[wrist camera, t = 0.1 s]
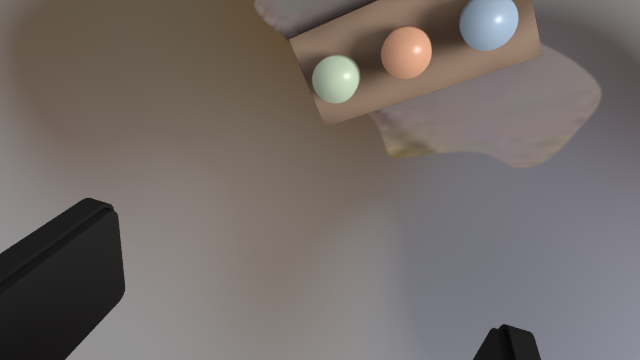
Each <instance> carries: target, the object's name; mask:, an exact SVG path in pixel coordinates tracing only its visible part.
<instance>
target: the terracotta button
mask: <svg viewBox="0 0 640 360" xmlns="http://www.w3.org/2000/svg"><path fill="white" fill-rule="evenodd" d="M431 54H432V48H431V41H430V39H429V37H428V35H427V34H426V32H425V31H424V30H422V29H421V28H419V27H417V26H413V25H405V26H401V27H398V28H396V29H395V30H393V31H392V32H391V33H390V34H389V36H388V37H387V38H386V40H385V42H384V44H383V46H382V50H381V60H382V63H383V66H384V68H385V69H386V70H387V72H388V73H390V74H391V75H392V76H394V77H396V78H400V79H410V78H414V77H416V76H418V75H419V74H421V73H422V72H423V71H424V70H425V69H426V68H427V66H428V64H429V62H430V59H431Z"/></svg>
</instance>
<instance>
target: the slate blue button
mask: <svg viewBox="0 0 640 360" xmlns="http://www.w3.org/2000/svg"><path fill="white" fill-rule="evenodd" d="M517 25H518V11H517V8H516V6H515V4H514V3H513V2H512V0H470V1H469V2H468V3H467V4H466V6H465V7H464V9H463V10H462V13H461V15H460V19H459V29H460V32H461V35H462V37H463V39H464V40H465V42H466V43H467V44H468V45H469V46H471V47H472V48H474V49H477V50H480V51H489V50H494V49H496V48H499V47H501V46H502V45H504V44H505V43H506V42H507V41H508V40H509V39H510V38H511V37H512V36H513V34H514V32H515V30H516V28H517Z"/></svg>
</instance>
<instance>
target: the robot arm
mask: <svg viewBox="0 0 640 360" xmlns="http://www.w3.org/2000/svg"><path fill="white" fill-rule="evenodd" d="M124 292H125V280H124V270H123V260H122V251H121V240H120V231H119V220H118V214H117V213H116V212H114V209H113V206H112V205H111V204H108V203H105V202H102V201H98V200H95V199H92V198H85V199H83V200H81V201H80V202H78V203H77V204H75V205H74V206H72V207H70V208H69V209H68V210H66V211H65V212H63V213H61V214H60V215H58V216H57V217H55V218H54V219H52V220H51V221H49V222H48V223H46V224H45V225H43V226H42V227H40V228H39V229H37V230H36V231H34V232H32V233H31V234H29V235H28V236H26V237H25V238H23V239H22V240H20V241H19V242H17V243H16V244H14V245H13V246H11V247H10V248H9V249H7V250H5V251H4V252H2V253H1V254H0V360H65V359H66V358H67V357H68V356H69V355H70V354H71V352H72V351H73V350H74V349H75V348H76V347H77V346H78V345H79V344H80V343H81V342H82V341H83V340H84V338H86V336H87V335H88V334H89V333H90V332H91V331H92V330H93V329H94V328H95V327H96V326H97V325H98V324H99V323H100V322H101V321H102V320H103V318H104V317H105V316H106V315H107V314H108V313H109V312H110V311H111V310H112V309H113V308H114V307H115V306H116V304H118V302H119V301H120V300H121V298H122V296H123V295H124ZM473 360H541V358H540V355H539V351H538V348H537V345H536V341H535V338H534V336H533V334H532V333H531V332H529V331H525V330H522V329H519V328H515V327H512V326H509V325H506V324H503V325H501V326H500V328H499V329H496V328H492V329H491V330H490V331H489V333H488V335H487V336H486V338H485V340H484V342H483V343H482V345H481V347H480V349H479V350H478V352H477V354H476V355H475V357H474V359H473Z"/></svg>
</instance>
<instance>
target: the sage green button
mask: <svg viewBox="0 0 640 360" xmlns="http://www.w3.org/2000/svg"><path fill="white" fill-rule="evenodd" d="M312 83H313V87H314V90H315V91H316V93H317V94H318V96H319V97H320V98H322V99H323V100H325V101H327V102H330V103H342V102H344V101H346V100H348V99H349V98H350V97H351V96H352V95H353V94H354V92H355V91H356V89H357V87H358V85H359V83H360V70H359V67H358V65H357V63H356V62H355V61H354V60H353V59H352V58H351V57H349V56H348V55H345V54H341V53H336V54H331V55H329V56H327V57H326V58H324V59H323V60H322V61H321V62H320V63H319V64H318V65H317V66H316V68H315V69H314V72H313V76H312Z"/></svg>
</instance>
